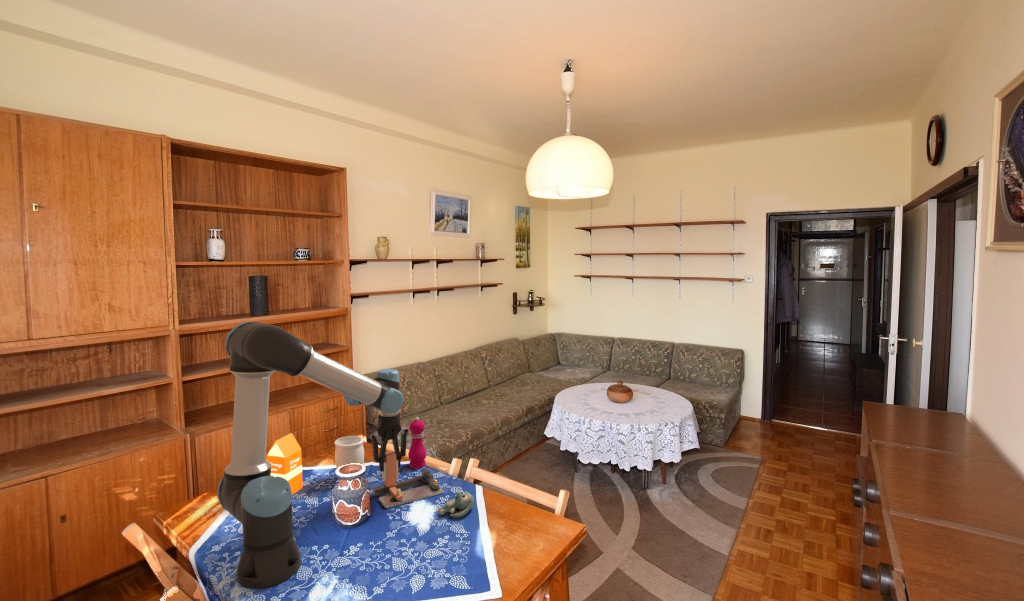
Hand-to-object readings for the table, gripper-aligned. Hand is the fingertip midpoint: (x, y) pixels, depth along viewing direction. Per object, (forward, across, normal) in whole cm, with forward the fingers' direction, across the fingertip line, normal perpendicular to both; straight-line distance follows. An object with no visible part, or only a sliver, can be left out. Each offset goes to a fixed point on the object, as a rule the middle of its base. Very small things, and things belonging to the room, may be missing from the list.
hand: (390, 477), depth 172 cm
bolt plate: (+5, -5, +8) cm, 10 cm away
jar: (+5, +10, -18) cm, 21 cm away
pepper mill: (+5, -16, -16) cm, 24 cm away
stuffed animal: (+5, -14, +25) cm, 29 cm away
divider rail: (+5, -5, +4) cm, 8 cm away
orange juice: (+5, +32, -20) cm, 38 cm away
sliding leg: (+4, 0, +4) cm, 6 cm away
